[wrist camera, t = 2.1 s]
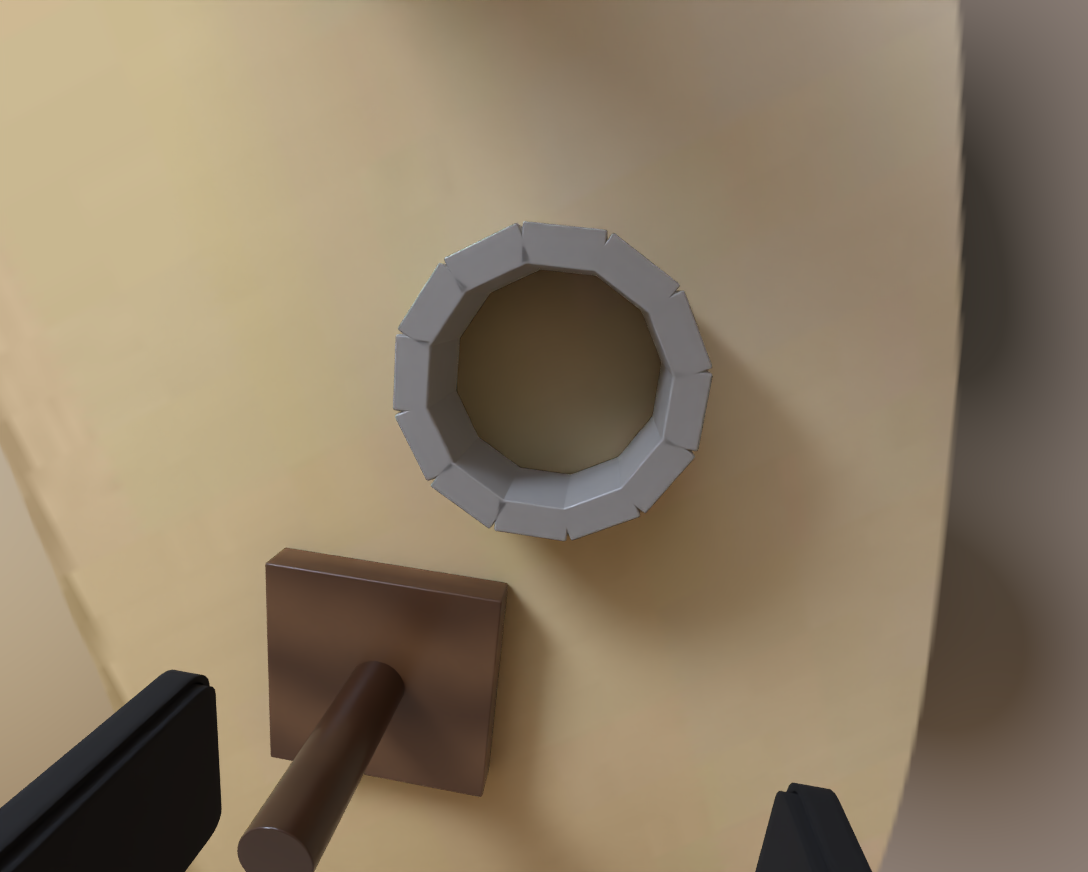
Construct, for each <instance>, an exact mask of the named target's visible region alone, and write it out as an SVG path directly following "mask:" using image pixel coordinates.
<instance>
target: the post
mask: <svg viewBox="0 0 1088 872" xmlns="http://www.w3.org/2000/svg"><path fill="white" fill-rule="evenodd" d="M265 567H266V603H267V639H268V674H269V710H270V745H271V756H272V757H275V758H281V759H286V760H291V761H292V763H291V764H290V766H289V767H288V769H287V770H286V772H285V773H284V775H283V776H282V778H281V779H280V781H279V782H278V784H277V785H276V787H275V788H274V790H273V791H272V793H271V794H270V796H269V797H268V799H267V800H266V802H265V803H264V805H263V806H262V807H261V809H260V810H259V812H258V813H257V815H256V816H255V818H254V819H253V821H252V822H251V824H250V825H249V827H248V828H247V830H246V831H245V833H244V834H243V836H242V837H241V839H240V841H239V844H238V850H237V852H238V858H239V861H240V863H241V865H242V867H243V868H244V869H245V871H246V872H314V871H315V869H316V867H317V865H318V863H319V861H320V859H321V857H322V855H323V853H324V851H325V849H326V847H327V845H328V843H329V841H330V839H331V837H332V835H333V833H334V831H335V830H336V828H337V826H338V824H339V822H340V820H341V818H342V816H343V814H344V812H345V810H346V808H347V806H348V804H349V802H350V800H351V798H352V796H353V794H354V792H355V790H356V788H357V786H358V784H359V782H360V780H361V778H362V776H363V774H364V775H369V776H374V777H380V778H385V779H390V780H395V781H401V782H406V783H411V784H416V785H421V786H427V787H432V788H437V789H442V790H447V791H453V792H458V793H463V794H468V795H473V796H479V797H481V796H482V795H483V791H484V787H485V783H486V779H487V775H488V771H489V762H490V753H491V743H492V733H493V724H494V714H495V705H496V695H497V685H498V676H499V666H500V657H501V647H502V637H503V628H504V618H505V609H506V599H507V589H508V584H507V583H503V582H497V581H491V580H484V579H478V578H472V577H466V576H459V575H453V574H447V573H440V572H434V571H428V570H422V569H415V568H409V567H403V566H396V565H390V564H384V563H378V562H371V561H365V560H359V559H353V558H346V557H340V556H334V555H327V554H321V553H315V552H309V551H302V550H296V549H290V548H284V549H283V550H282V551H281V552H279V553H278V554H277V555H276V556H274V557H273V558H272V559H270V560H269V561H268V562H267V563H266V565H265Z"/></svg>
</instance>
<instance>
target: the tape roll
mask: <svg viewBox="0 0 1088 872" xmlns="http://www.w3.org/2000/svg"><path fill="white" fill-rule="evenodd" d="M444 260H445V263H446V264H442V263H439V264H438V265H437V267H436V268H435V270H434V272H433V273H432V275H431V276H430V278H429V279H428V281H427V283H426V284H425V286H424V287H423V289H422V290H421V292H420V294H419V295H418V297H417V298H416V300H415V302H414V303H413V305H412V306H411V308H410V309H409V311H408V313H407V314H406V316H405V317H404V319H403V320H402V322H401V324H400V325H399V327H398V330H399V331H401V332H402V333H403V334H398V335H396V345H395V371H394V398H393V409H394V410H397V411H401V412H399V413H398V414H396V415H395V418H396V420H397V422H398V424H399V426H400V428H401V430H402V432H403V434H404V436H405V438H406V440H407V442H408V444H409V446H410V448H411V450H412V452H413V454H414V456H415V458H416V460H417V462H418V464H419V466H420V468H421V470H422V472H423V474H424V476H425V478H426V480H432V479H435V480H434V481H433V483H432V484H431V487H432V488H434V489H435V490H437V491H438V492H439V493H441V494H442V495H444V496H445V497H446V498H448V499H449V500H450V501H452V502H453V503H455V504H456V505H457V506H459V507H460V508H461V509H463V510H464V511H466V512H467V513H468V514H470V515H471V516H472V517H474V518H475V519H477V520H478V521H479V522H481V523H482V524H483V525H485V526H486V527H488V528H490V527H491V526H492V525H493V524H494V522H495V527H494V529H495V531H500V532H507V533H514V534H520V535H527V536H533V537H540V538H547V539H553V540H560V541H566V540H567V534H569V537H570V539H571V540H575V539H578V538H581V537H584V536H586V535H589V534H592V533H595V532H598V531H601V530H604V529H606V528H609V527H612V526H615V525H618V524H621V523H623V522H626V521H629V520H632V519H635V518H638V517H639V516H640V510H641V511H643V512H644V513H646V512H647V511H648V510H649V509H650V508H651V507H652V505H653V504H654V503H655V502H656V501H657V500H658V499H659V498H660V496H661V495H662V494H663V493H664V492H665V491H666V490H667V488H668V487H669V486H670V485H671V484H672V483H673V482H674V481H675V479H676V478H677V477H678V476H679V475H680V474H681V473H682V471H683V470H684V469H685V468H686V467H687V466H688V465H689V464H690V462H691V461H692V460H693V459H694V458H695V456H694V454H693V452H692V451H697V450H698V449H699V444H700V438H701V433H702V428H703V423H704V418H705V413H706V407H707V402H708V397H709V392H710V387H711V382H712V377H713V376H712V374H711V373H710V372H709V371H707V370H709V369H711V368H712V364H711V361H710V359H709V356H708V353H707V351H706V348H705V345H704V343H703V340H702V337H701V334H700V332H699V329H698V326H697V324H696V321H695V318H694V315H693V313H692V310H691V307H690V305H689V302H688V299H687V297H686V294H685V292H684V291H676V290H677V289H678V288H679V286H680V284H679V283H678V282H676V281H675V280H674V279H672V278H671V277H670V276H669V275H667V274H666V273H665V272H663V271H662V270H661V269H660V268H658V267H657V266H656V265H655V264H653V263H652V262H651V261H649V260H648V259H647V258H646V257H644V256H643V255H642V254H640V253H639V252H638V251H637V250H635V249H634V248H633V247H632V246H630V245H629V244H628V243H626V242H625V241H624V240H623V239H621V238H620V237H619V236H617V235H616V234H615V233H613V234H612V235H611V236H610V237H609V239H608V240H607V230H603V229H594V228H584V227H575V226H565V225H556V224H546V223H537V222H527V221H525V222H523V227H522V226H520V225H519V224H518V223H515V224H513V225H511V226H509V227H506V228H504V229H502V230H500V231H498V232H496V233H494V234H492V235H490V236H488V237H486V238H484V239H482V240H480V241H478V242H476V243H474V244H472V245H470V246H468V247H466V248H464V249H462V250H460V251H458V252H455V253H453V254H451V255H449V256H447V257H445V258H444ZM538 270H549V271H558V272H567V273H576V274H585V275H594V276H597V277H599V278H600V279H601V280H603V281H604V282H605V283H606V284H608V285H609V286H610V287H612V288H613V289H614V290H615V291H617V292H618V293H619V294H621V295H622V296H623V297H625V298H626V299H627V300H628V301H630V302H631V303H632V304H634V305H635V306H636V307H637V308H639V309H640V310H641V311H642V314H643V316H644V319H645V322H646V324H647V327H648V329H649V332H650V334H651V337H652V340H653V342H654V345H655V347H656V350H657V352H658V355H659V358H660V360H661V368H660V374H659V380H658V386H657V392H656V398H655V404H654V410H653V416H652V417H651V418H650V419H649V421H648V422H647V423H646V424H645V425H644V427H643V428H642V429H641V430H640V431H639V433H638V434H637V435H636V436H635V437H634V439H633V440H632V441H631V442H630V443H629V445H628V446H627V447H626V448H625V449H624V451H623V452H622V453H621V454H620V455H619V457H616V458H614V459H611V460H608V461H606V462H603V463H600V464H598V465H595V466H592V467H590V468H587V469H584V470H582V471H579V472H577V473H574V474H571V475H569V474H562V473H555V472H548V471H541V470H534V469H527V468H520V467H519V466H517V465H516V464H515V463H513V462H512V461H510V460H509V459H508V458H506V457H505V456H504V455H502V454H501V453H500V452H498V451H497V450H496V449H494V448H493V447H491V446H490V445H489V444H487V443H486V442H485V441H483V440H482V439H481V438H479V437H478V435H477V433H476V431H475V429H474V427H473V425H472V423H471V421H470V418H469V416H468V414H467V412H466V410H465V408H464V406H463V404H462V401H461V399H460V397H459V395H458V393H457V391H456V388H457V374H458V359H459V345H460V337H461V336H462V334H463V333H464V331H465V330H466V328H467V327H468V325H469V324H470V322H471V321H472V319H473V318H474V316H475V315H476V313H477V312H478V310H479V309H480V307H481V306H482V304H483V303H484V301H485V300H486V298H487V297H488V296H489V294H490V293H491V292H493V291H495V290H498V289H500V288H502V287H504V286H506V285H508V284H510V283H513V282H515V281H517V280H519V279H521V278H523V277H525V276H528V275H530V274H532V273H534V272H536V271H538ZM639 509H640V510H639Z"/></svg>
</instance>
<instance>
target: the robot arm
mask: <svg viewBox="0 0 1088 872" xmlns="http://www.w3.org/2000/svg"><path fill="white" fill-rule="evenodd" d="M220 816H221V789H220V770H219V750H218V731H217V712H216V693H215V689H214V688H213V687H211V686H209V681H208V678H207V677H206V676H204V675H199V674H193V673H188V672H182V671H177V670H169V671H166V672H165V673H163V674H162V675H160V676H159V677H158V678H157V679H155V680H154V681H153V682H152V683H150V684H149V685H148V686H147V687H146V688H144V689H143V690H142V691H141V692H140V693H138V694H137V695H136V696H135V697H134V698H132V699H131V700H130V701H129V702H128V703H126V704H125V705H124V706H123V707H122V708H120V709H119V710H118V711H117V712H116V713H114V714H113V715H112V716H111V717H110V718H108V719H107V720H106V721H105V722H104V723H102V724H101V725H100V726H99V727H98V728H96V729H95V730H94V731H93V732H91V733H90V734H89V735H88V736H87V737H86V738H84V739H83V740H82V741H81V742H79V743H78V744H77V745H76V746H75V747H74V748H72V749H71V750H70V751H69V752H67V753H66V754H65V755H64V756H63V757H62V758H60V759H59V760H58V761H57V762H55V763H54V764H53V765H52V766H51V767H49V768H48V769H47V770H46V771H45V772H43V773H42V774H41V775H40V776H39V777H37V778H36V779H35V780H34V781H33V782H31V783H30V784H29V785H28V786H27V787H25V788H24V789H23V790H22V791H20V792H19V793H18V794H17V795H16V796H14V797H13V798H12V799H11V800H10V801H9V802H7V803H6V804H5V805H4V806H2V807H1V808H0V872H185V871H186V869H187V868H188V867H189V865H190V864H191V863H192V861H193V860H194V859H195V857H196V856H197V855H198V853H199V852H200V851H201V849H202V848H203V847H204V845H205V844H206V843H207V841H208V840H209V839H210V837H211V836H212V834H213V833H214V831H215V829H216V827H217V825H218V822H219V819H220ZM755 872H872V871H871V869H870V866H869V864H868V862H867V860H866V858H865V856H864V854H863V851H862V849H861V847H860V845H859V843H858V841H857V838H856V836H855V834H854V832H853V830H852V828H851V825H850V823H849V821H848V819H847V817H846V815H845V812H844V810H843V808H842V806H841V804H840V802H839V799H838V798H837V796H836V794H835V793H834V792H833V791H832V790H831V789H825V788H820V787H814V786H809V785H803V784H798V783H791V784H790V785H789V787H788V789H787V792H783V791H779V792H778V793H777V794H776V797H775V800H774V804H773V808H772V812H771V815H770V819H769V823H768V826H767V830H766V834H765V838H764V841H763V845H762V849H761V853H760V856H759V860H758V864H757V867H756V871H755Z"/></svg>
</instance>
